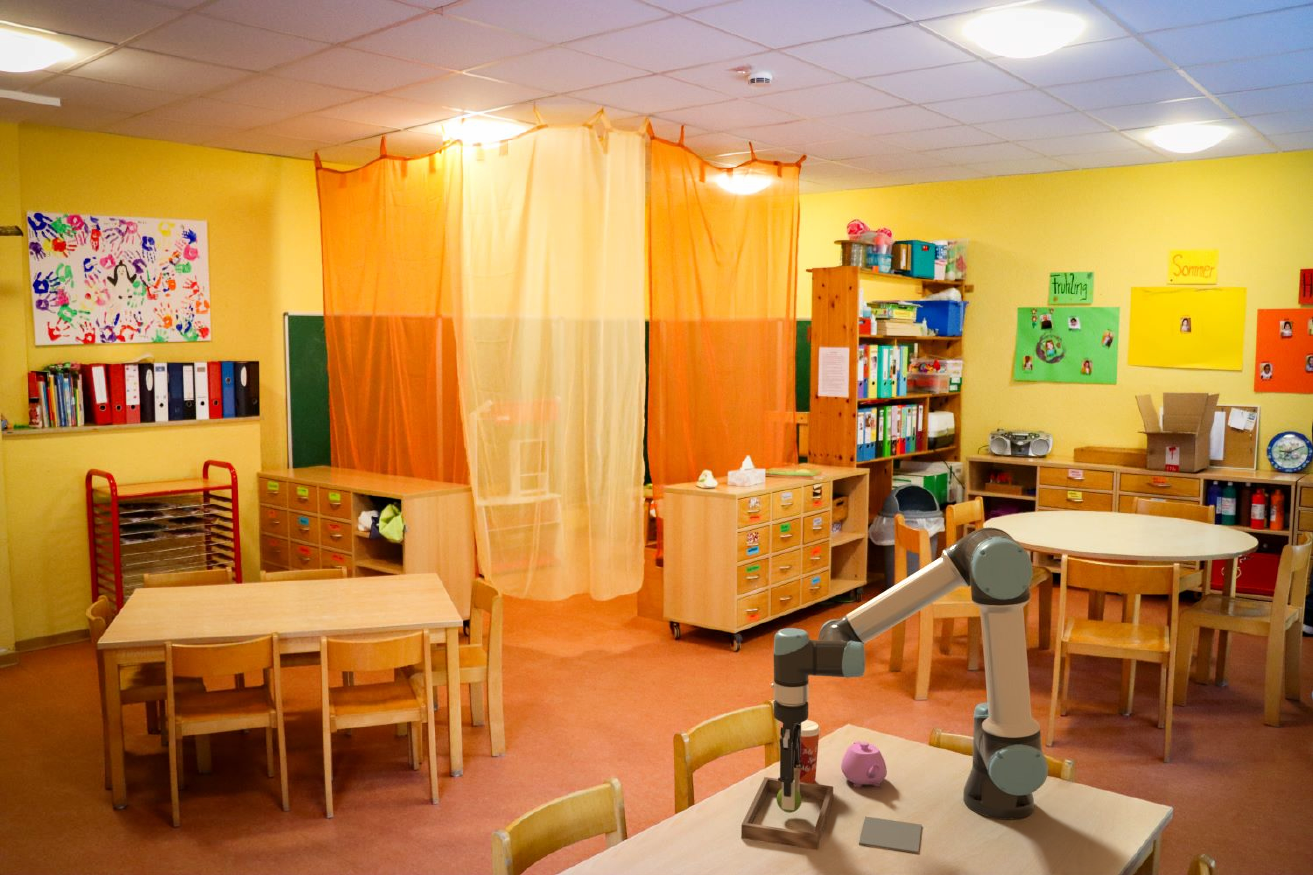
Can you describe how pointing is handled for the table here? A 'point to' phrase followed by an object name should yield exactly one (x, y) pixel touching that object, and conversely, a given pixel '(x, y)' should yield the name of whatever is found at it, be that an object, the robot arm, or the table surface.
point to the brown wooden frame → (787, 835)
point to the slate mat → (890, 834)
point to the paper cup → (809, 751)
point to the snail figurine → (797, 794)
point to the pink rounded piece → (863, 764)
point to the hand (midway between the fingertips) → (790, 802)
